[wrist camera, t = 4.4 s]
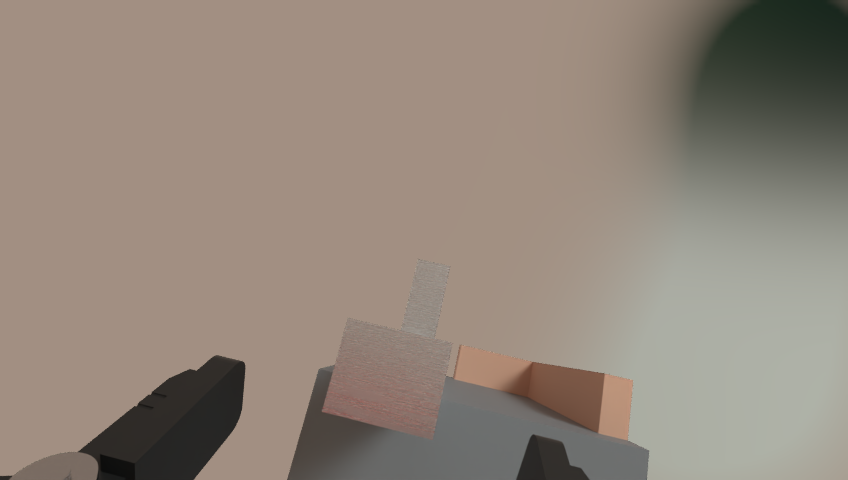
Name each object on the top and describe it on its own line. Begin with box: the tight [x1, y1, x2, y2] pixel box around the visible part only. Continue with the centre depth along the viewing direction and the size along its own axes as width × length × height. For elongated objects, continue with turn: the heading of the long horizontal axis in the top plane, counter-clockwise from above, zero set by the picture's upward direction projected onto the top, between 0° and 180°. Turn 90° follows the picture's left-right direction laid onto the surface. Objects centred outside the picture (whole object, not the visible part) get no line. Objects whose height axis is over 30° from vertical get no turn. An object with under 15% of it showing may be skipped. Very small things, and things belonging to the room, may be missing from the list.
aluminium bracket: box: [322, 259, 453, 440], centre depth 24 cm, size 3×26×10 cm, turn 179°
